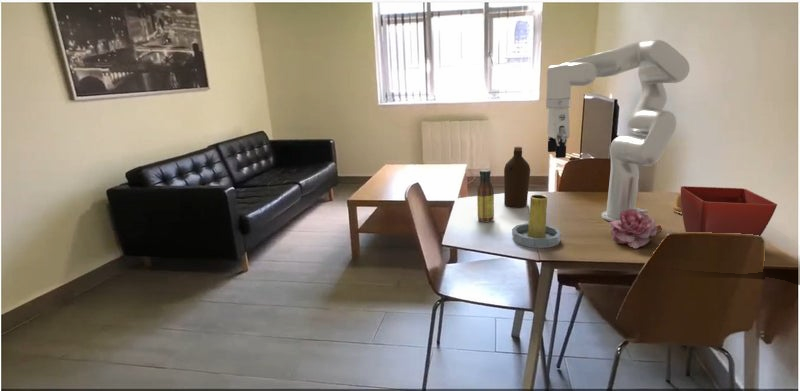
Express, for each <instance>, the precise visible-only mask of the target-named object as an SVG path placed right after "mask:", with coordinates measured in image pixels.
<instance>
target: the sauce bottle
mask: <svg viewBox="0 0 800 391" xmlns="http://www.w3.org/2000/svg"><path fill="white" fill-rule="evenodd" d="M491 174H492V173H491V170H490V169H487V168H486V169H479V175H480V177H479V178H480V179H479V184H478V185H477V189H476V190H477V194H476V196H477V197H476V198H477V203H476V204H477V219H478V221H479V222H482V223H490V222H493V221H494V220H495V202H494V201H495V195H494V194H495V192H494V187H493V184H492V183H491V182H492V181H491Z"/></svg>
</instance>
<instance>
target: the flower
mask: <svg viewBox="0 0 800 391" xmlns="http://www.w3.org/2000/svg"><path fill="white" fill-rule="evenodd" d="M608 224H609V227H610V228H612V230H610V233H611V236H612V237H613V240H614V241H615V242H616V243H619V244H627V245H628V246H629V248H631V247H633V249H638V248H640V247H644V246H645V245H647V244H648V243H649V242H650V240H651V238H653V237H654V236H657V235H658V234H660V233H662V230H663V227H662V226H661V225H660V224H659V225H656V219H654V218H653V217H651V218H650V217H649V214H647V215H646V214H644V213H639V212H638V211H636V210H634V209H628V210H624V211H622V213H620V221H612V222H611V221H608Z"/></svg>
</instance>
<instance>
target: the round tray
mask: <svg viewBox="0 0 800 391" xmlns="http://www.w3.org/2000/svg"><path fill="white" fill-rule="evenodd" d="M528 225H529V222H528V223H521V224H517V225H515V226H514V227H512V229H511V236H512V240H513V241H514V243H516V244H518V245H521V246H522V247H527V248H533V249H534V248H535V249H548V248H553V247H557V246H558V245H559V244H560V243H561V242H560V241H561V238H562V232H561V231H560V230H559V228H557V227H554V226H551V225H548V224H546V238H532V237H528V236H527V234H528Z"/></svg>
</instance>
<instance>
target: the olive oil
mask: <svg viewBox="0 0 800 391" xmlns="http://www.w3.org/2000/svg"><path fill="white" fill-rule="evenodd" d="M503 174H504V175H503V177H504V180H503V181H504V184H503V185H504V187H503V188H504V189H503V190H504V194H503V195H504V197H503V198H504V199H503V200H504V201H503V202H504V206H506V207H508V208H511V209H512V208H514V209H523V208H525V207H527V205H528V196H529V187H530V186H529V185H530V176H531V167H530V164H529V163H528V161H527V160H526V159H525V158H524V156H523V147H522V146H515V147H514V149H513V156H512V157H511V158H510V159H509V160H508V161H507V162H506V163H505V166H504V169H503Z"/></svg>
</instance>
